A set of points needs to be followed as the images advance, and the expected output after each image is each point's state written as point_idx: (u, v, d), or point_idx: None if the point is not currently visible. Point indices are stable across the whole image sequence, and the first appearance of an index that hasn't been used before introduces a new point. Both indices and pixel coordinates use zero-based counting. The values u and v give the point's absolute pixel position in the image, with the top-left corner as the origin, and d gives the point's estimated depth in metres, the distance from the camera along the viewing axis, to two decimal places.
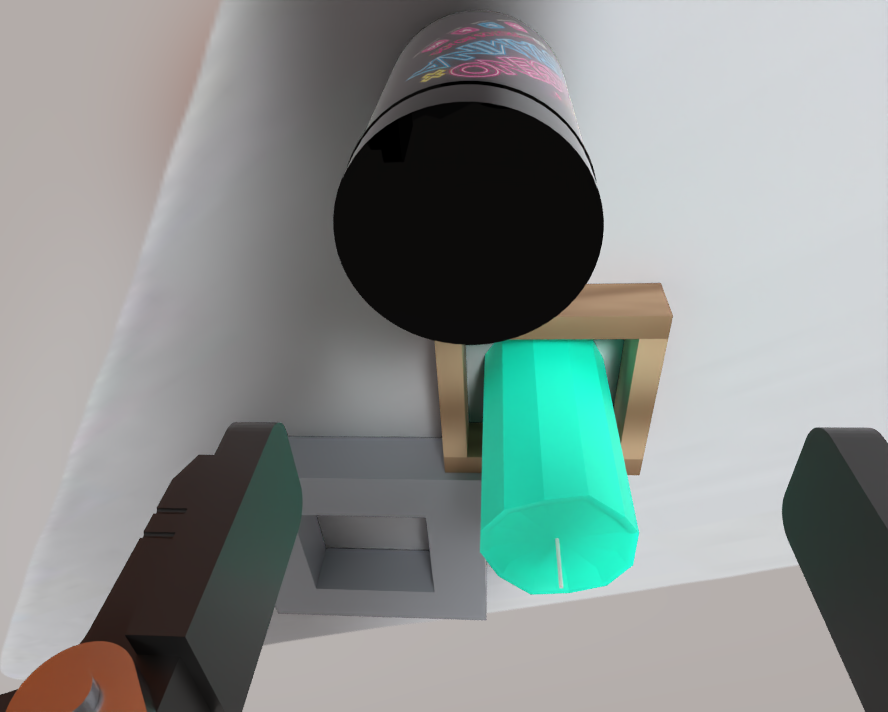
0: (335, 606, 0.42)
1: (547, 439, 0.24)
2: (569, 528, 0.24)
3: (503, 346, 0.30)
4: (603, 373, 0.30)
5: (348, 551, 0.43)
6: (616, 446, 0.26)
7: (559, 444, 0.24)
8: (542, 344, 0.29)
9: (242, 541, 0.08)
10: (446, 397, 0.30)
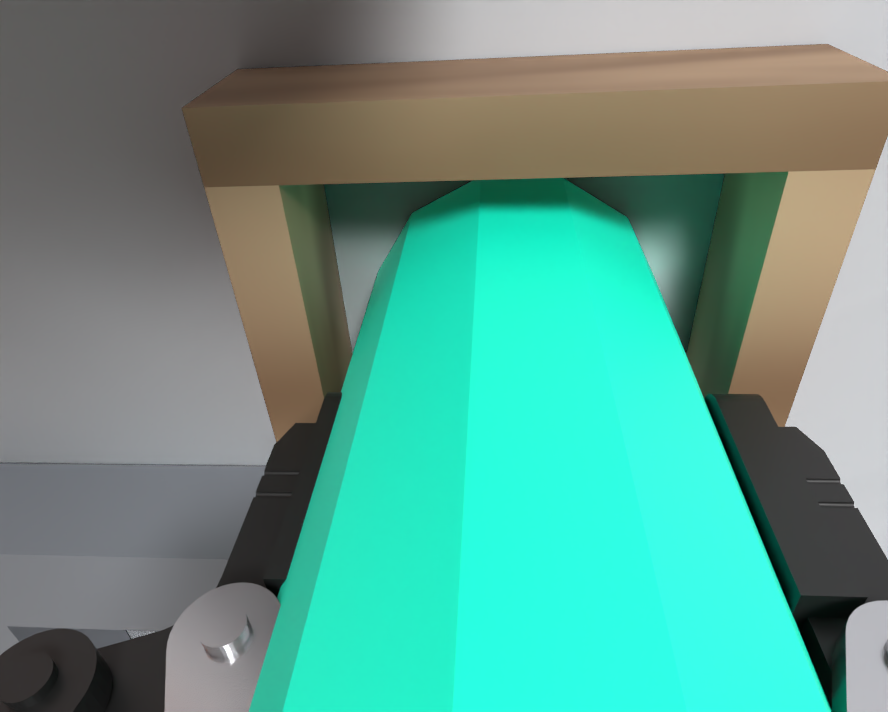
0: None
1: (493, 468, 0.06)
2: None
3: (410, 233, 0.12)
4: (662, 300, 0.12)
5: None
6: (740, 493, 0.08)
7: (545, 490, 0.06)
8: (503, 214, 0.11)
9: None
10: (272, 363, 0.12)
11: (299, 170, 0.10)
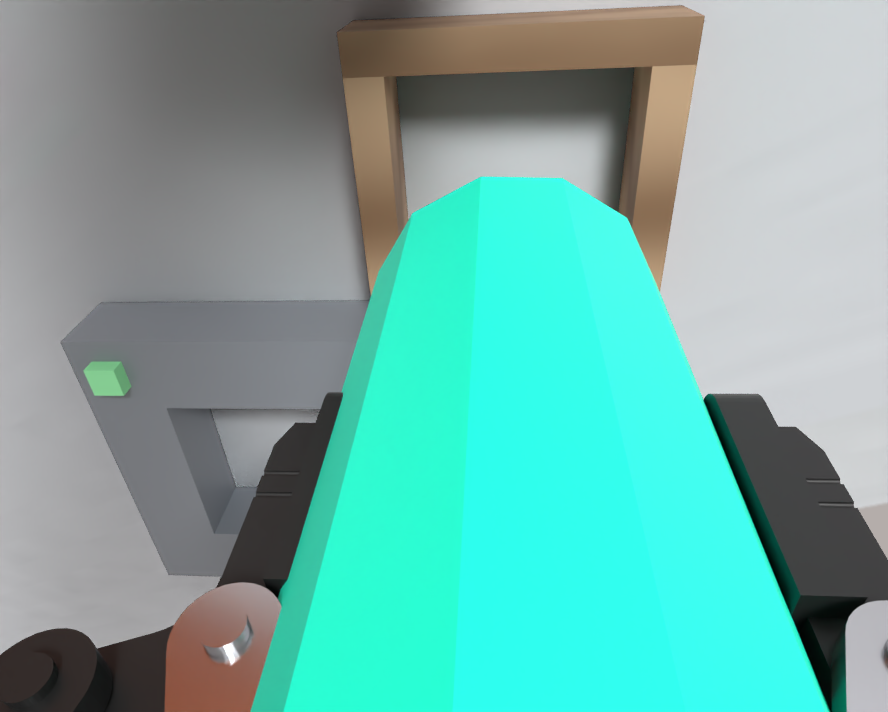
0: None
1: (493, 466, 0.06)
2: None
3: (410, 234, 0.12)
4: (661, 300, 0.12)
5: None
6: (738, 491, 0.08)
7: (544, 487, 0.06)
8: (504, 214, 0.11)
9: None
10: (368, 192, 0.20)
11: (395, 67, 0.18)
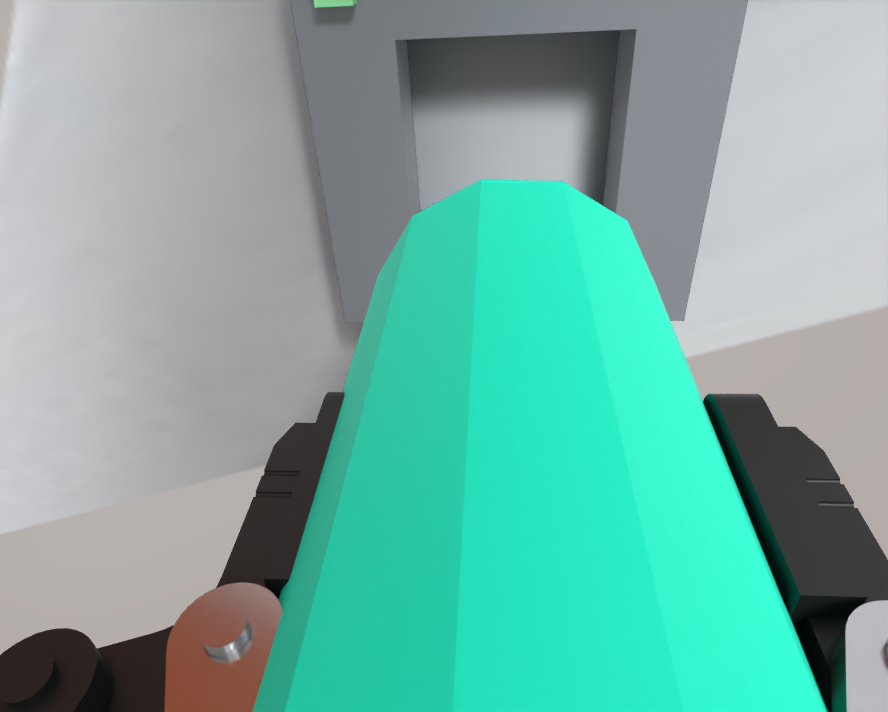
0: None
1: (493, 473, 0.06)
2: None
3: (410, 237, 0.12)
4: (662, 304, 0.12)
5: None
6: (739, 497, 0.08)
7: (544, 496, 0.06)
8: (504, 218, 0.11)
9: None
10: None
11: None
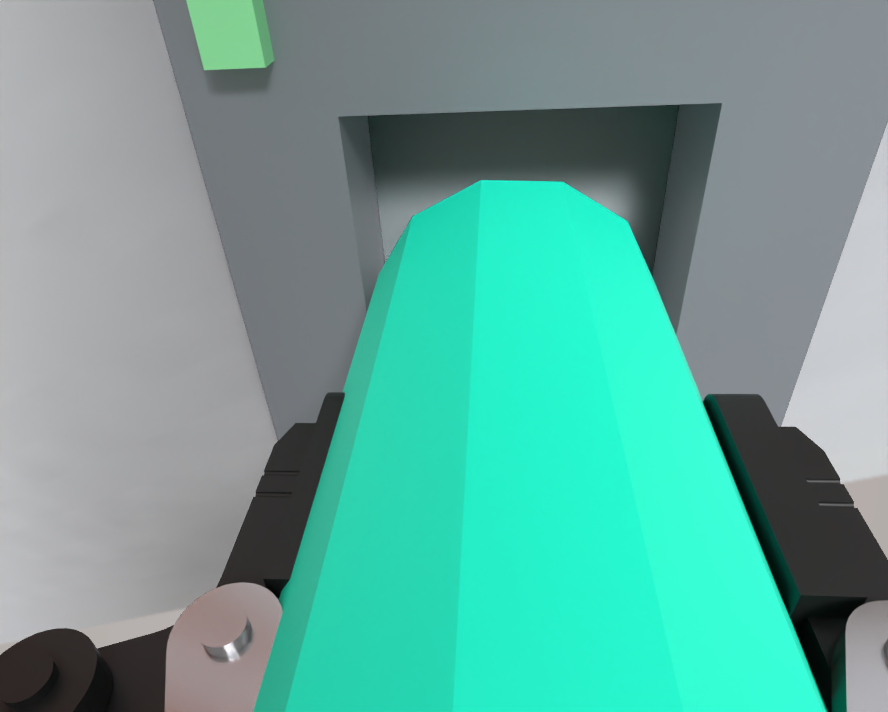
0: None
1: (493, 474, 0.06)
2: None
3: (410, 237, 0.12)
4: (662, 304, 0.12)
5: None
6: (739, 498, 0.08)
7: (544, 496, 0.06)
8: (504, 218, 0.11)
9: None
10: None
11: None
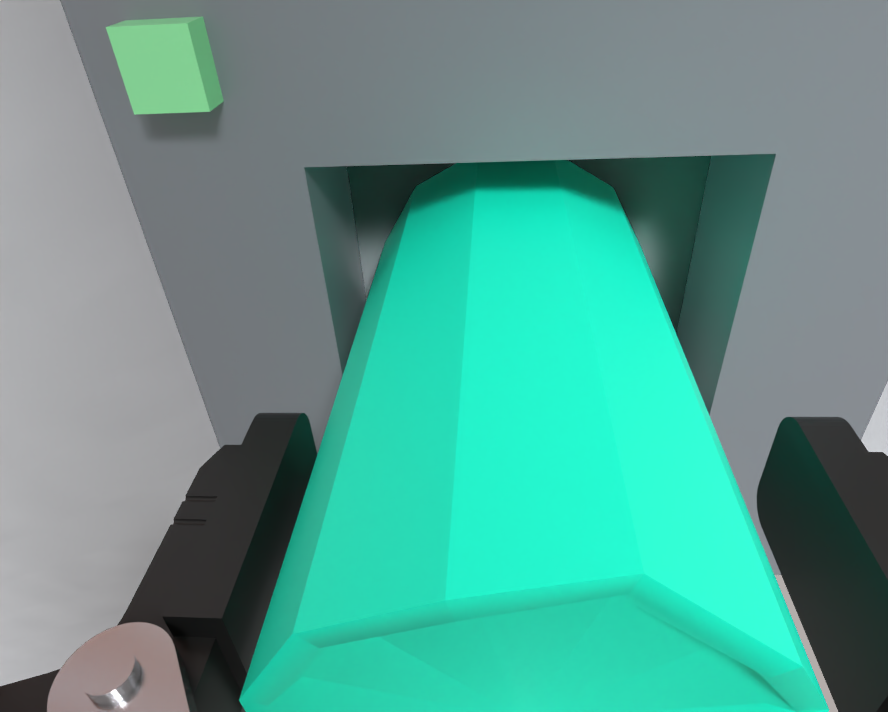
0: None
1: (485, 372, 0.07)
2: (566, 687, 0.06)
3: (414, 203, 0.13)
4: (644, 260, 0.13)
5: None
6: (703, 409, 0.09)
7: (528, 387, 0.07)
8: (498, 181, 0.12)
9: (271, 528, 0.08)
10: None
11: None
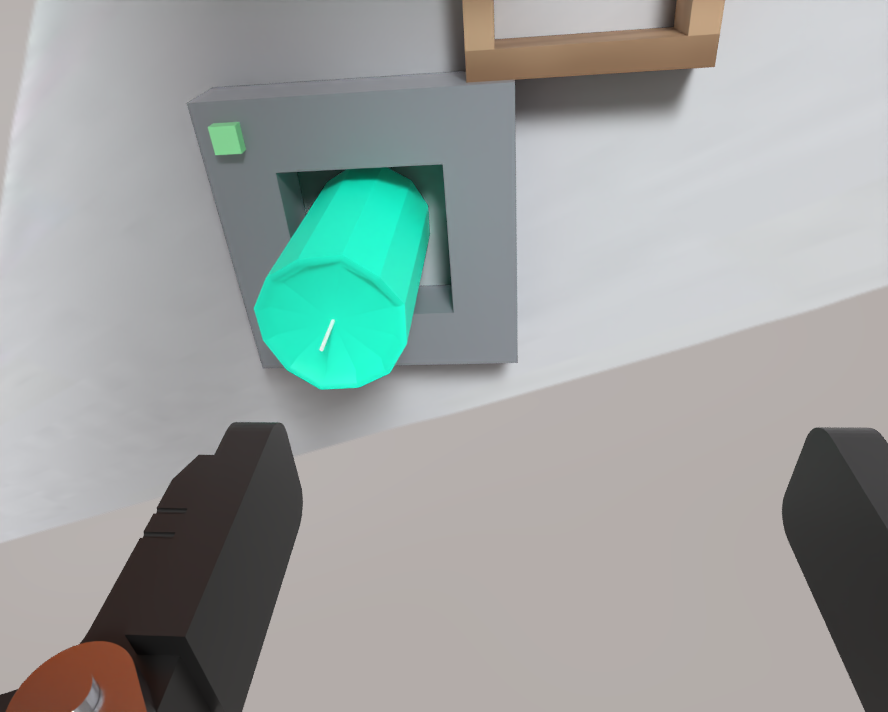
0: None
1: (322, 226, 0.25)
2: (340, 305, 0.24)
3: (324, 187, 0.31)
4: (419, 209, 0.31)
5: None
6: (403, 247, 0.27)
7: (333, 229, 0.25)
8: (353, 177, 0.30)
9: (242, 541, 0.08)
10: None
11: None
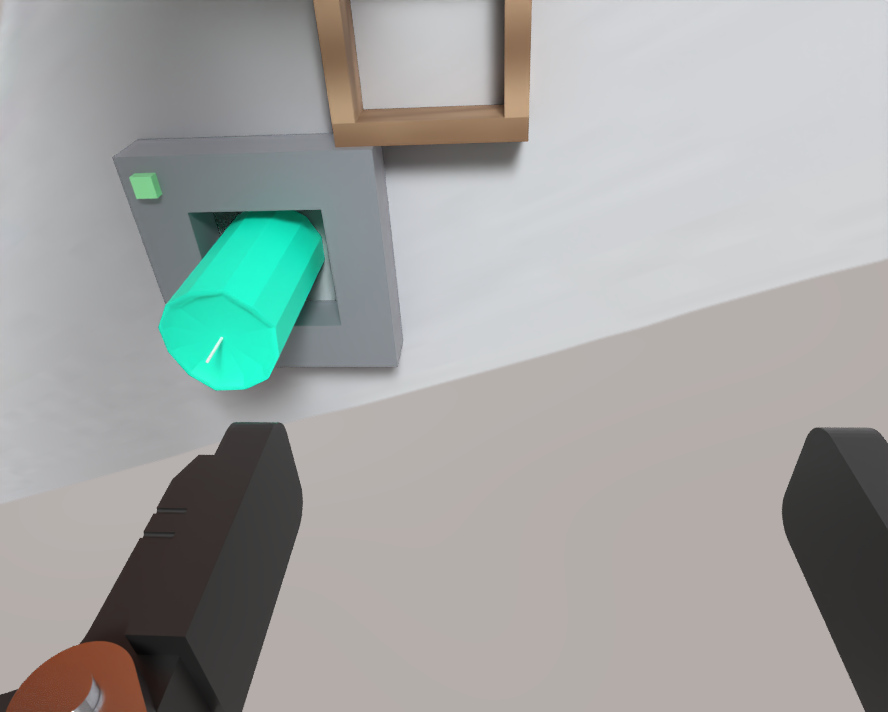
0: None
1: (215, 263, 0.32)
2: (226, 326, 0.31)
3: (232, 222, 0.38)
4: (309, 241, 0.38)
5: None
6: (284, 277, 0.33)
7: (222, 265, 0.32)
8: (254, 215, 0.37)
9: (242, 541, 0.08)
10: (325, 33, 0.30)
11: None
